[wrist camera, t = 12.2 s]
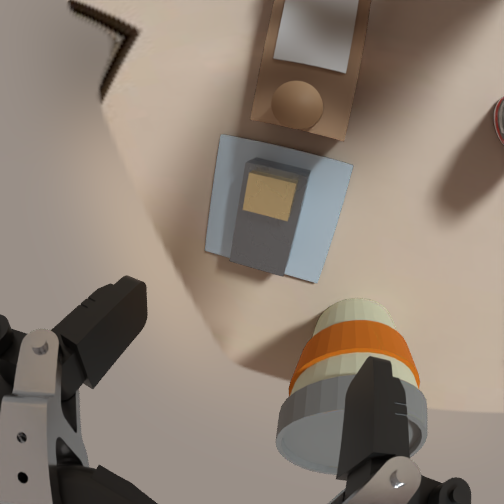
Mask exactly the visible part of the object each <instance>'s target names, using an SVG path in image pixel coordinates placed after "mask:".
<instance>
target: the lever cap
mask: <svg viewBox="0 0 504 504" xmlns="http://www.w3.org/2000/svg"><path fill="white" fill-rule="evenodd" d="M310 174H311V170H307V169H303V168H299V167H295V166H291V165H287V164H283V163H279V162H274V161H270V160H266V159H261V158H253V159H251V160H249V161H247V162H246V163H245V169H244V175H243V181H242V187H241V192H240V198H239V204H238V211H237V217H236V223H235V229H234V235H233V241H232V248H231V254H230V261H231V262H234V263H238V264H241V265H245V266H248V267H251V268H255V269H258V270H262V271H265V272H269V273H272V274H276V275H279V276H284V273H285V270H286V267H287V264H288V261H289V258H290V254H291V250H292V246H293V242H294V239H295V235H296V231H297V227H298V223H299V219H300V215H301V211H302V207H303V203H304V199H305V195H306V190H307V186H308V182H309V178H310Z"/></svg>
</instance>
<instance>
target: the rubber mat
mask: <svg viewBox="0 0 504 504" xmlns="http://www.w3.org/2000/svg"><path fill="white" fill-rule="evenodd" d="M253 158H261V159H266V160H270V161H274V162H279V163H283V164H287V165H291V166H295V167H299V168H303V169H307V170H311V174H310V178H309V182H308V186H307V190H306V195H305V199H304V203H303V207H302V211H301V215H300V219H299V223H298V227H297V231H296V235H295V239H294V242H293V246H292V250H291V254H290V258H289V261H288V264H287V267H286V270H285V273H284V274H286V275H290V276H293V277H297V278H300V279H304V280H307V281H310V282H314V283H318V280H319V277H320V274H321V271H322V269H323V266H324V263H325V260H326V257H327V253H328V250H329V247H330V244H331V241H332V238H333V235H334V231H335V228H336V225H337V222H338V218H339V215H340V212H341V208H342V205H343V201H344V198H345V195H346V191H347V187H348V184H349V180H350V177H351V173H352V169H353V165H351V164H348V163H345V162H341V161H338V160H334V159H331V158H327V157H323V156H320V155H316V154H312V153H308V152H304V151H300V150H296V149H292V148H288V147H283V146H279V145H275V144H270V143H265V142H261V141H256V140H251V139H246V138H240V137H235V136H230V135H224V134H222V135H221V136H220V142H219V149H218V155H217V162H216V168H215V175H214V182H213V189H212V197H211V204H210V212H209V219H208V227H207V236H206V244H205V251H208V252H211V253H215V254H218V255H221V256H225V257H228V258H230V254H231V248H232V241H233V235H234V229H235V223H236V217H237V211H238V204H239V198H240V192H241V187H242V181H243V175H244V169H245V163H246V162H247V161H249V160H251V159H253Z"/></svg>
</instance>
